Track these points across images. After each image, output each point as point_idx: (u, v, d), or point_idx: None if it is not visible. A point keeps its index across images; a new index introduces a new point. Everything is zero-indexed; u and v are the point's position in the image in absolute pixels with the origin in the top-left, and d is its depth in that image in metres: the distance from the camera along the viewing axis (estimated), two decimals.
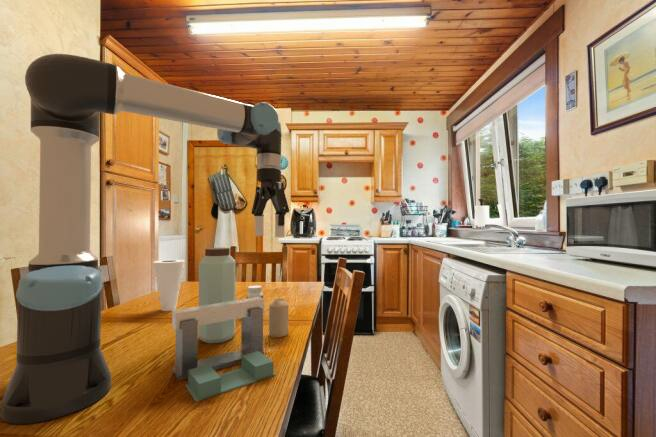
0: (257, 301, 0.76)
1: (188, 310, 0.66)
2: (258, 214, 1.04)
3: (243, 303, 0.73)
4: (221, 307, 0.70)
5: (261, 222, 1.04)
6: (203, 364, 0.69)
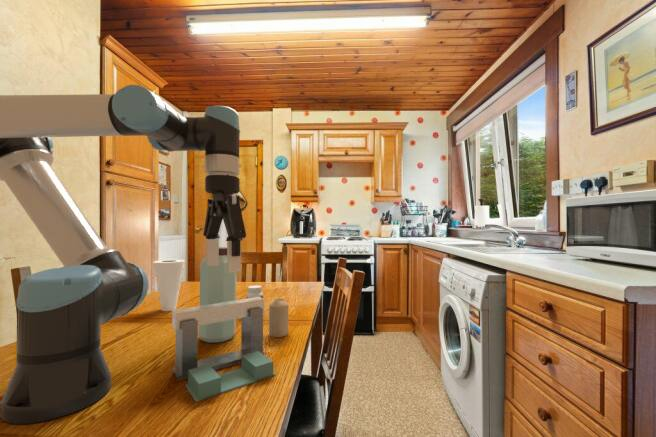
0: (257, 301, 0.76)
1: (188, 310, 0.66)
2: (211, 236, 0.77)
3: (243, 303, 0.73)
4: (221, 307, 0.70)
5: (215, 247, 0.77)
6: (203, 364, 0.69)
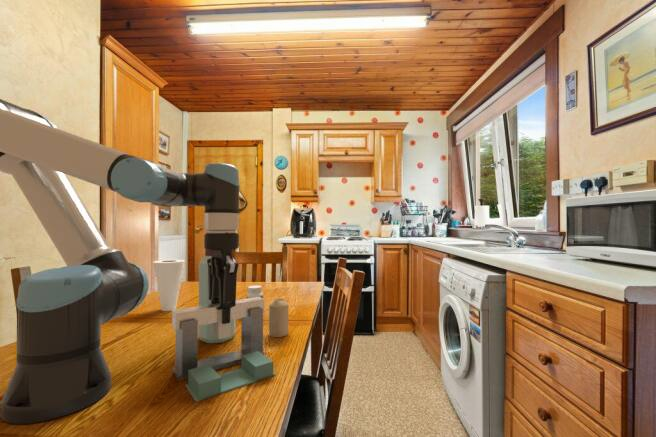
0: (257, 301, 0.76)
1: (188, 310, 0.66)
2: (217, 300, 0.73)
3: (243, 303, 0.73)
4: None
5: None
6: (203, 364, 0.69)
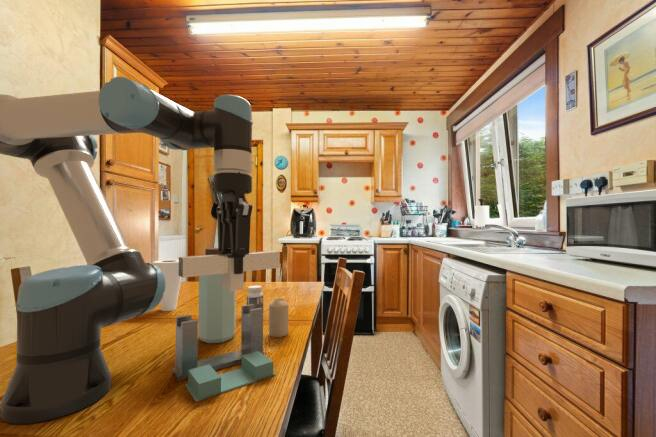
0: (272, 254, 0.68)
1: (196, 257, 0.59)
2: (228, 251, 0.66)
3: (257, 254, 0.66)
4: None
5: None
6: (203, 364, 0.69)
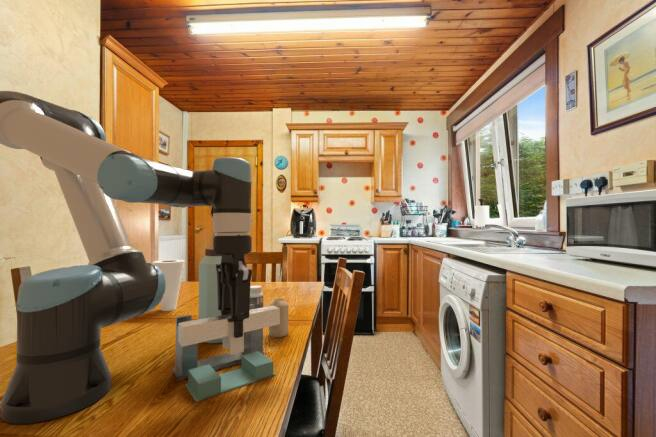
0: (272, 311, 0.68)
1: (196, 323, 0.59)
2: (228, 310, 0.66)
3: (257, 313, 0.66)
4: None
5: None
6: (203, 364, 0.69)
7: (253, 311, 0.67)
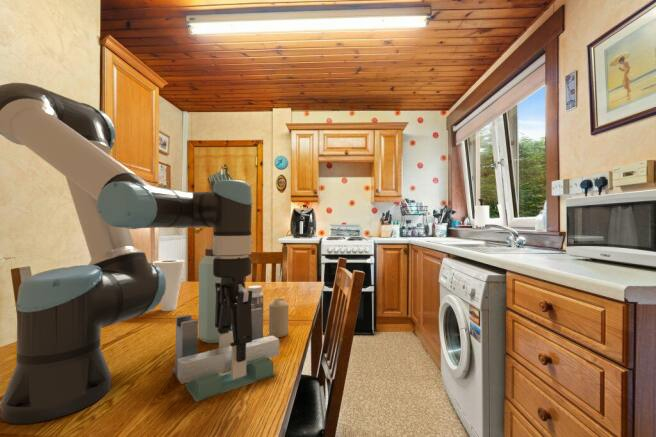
0: (271, 342, 0.68)
1: (195, 359, 0.59)
2: (224, 329, 0.67)
3: (256, 346, 0.66)
4: None
5: (229, 342, 0.67)
6: None
7: (252, 343, 0.66)
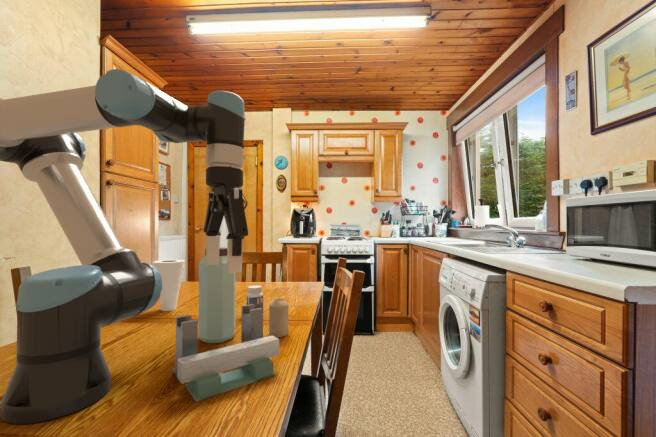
0: (271, 342, 0.68)
1: (195, 359, 0.59)
2: (212, 233, 0.72)
3: (256, 346, 0.66)
4: (232, 352, 0.62)
5: (216, 245, 0.72)
6: None
7: (252, 343, 0.66)
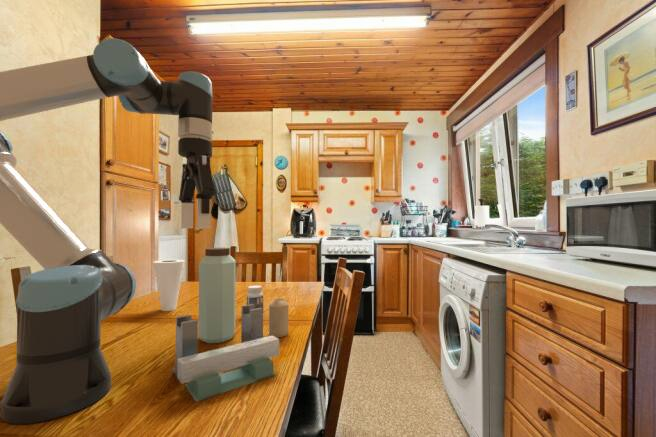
0: (271, 342, 0.68)
1: (195, 359, 0.59)
2: (186, 200, 0.81)
3: (256, 346, 0.66)
4: (232, 352, 0.62)
5: (190, 211, 0.80)
6: None
7: (252, 343, 0.66)
